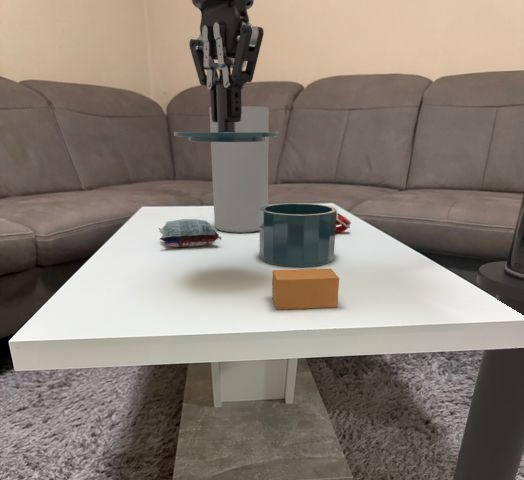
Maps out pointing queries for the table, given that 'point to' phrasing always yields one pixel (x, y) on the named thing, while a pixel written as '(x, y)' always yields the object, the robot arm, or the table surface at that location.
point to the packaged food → (188, 233)
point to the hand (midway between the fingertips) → (226, 121)
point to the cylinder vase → (241, 174)
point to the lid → (225, 128)
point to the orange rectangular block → (305, 288)
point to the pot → (297, 234)
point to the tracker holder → (342, 223)
